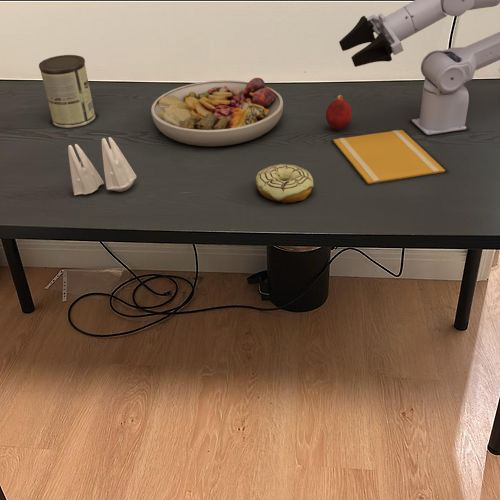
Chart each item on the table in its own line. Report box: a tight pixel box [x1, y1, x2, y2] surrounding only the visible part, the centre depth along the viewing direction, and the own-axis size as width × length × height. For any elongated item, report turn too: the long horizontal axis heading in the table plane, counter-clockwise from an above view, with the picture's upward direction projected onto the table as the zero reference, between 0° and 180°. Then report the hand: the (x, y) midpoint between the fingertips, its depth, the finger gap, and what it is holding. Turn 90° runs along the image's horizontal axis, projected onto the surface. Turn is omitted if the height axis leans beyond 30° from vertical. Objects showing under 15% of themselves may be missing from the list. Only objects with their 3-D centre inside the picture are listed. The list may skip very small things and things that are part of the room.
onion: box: [325, 94, 353, 131], centre depth 139 cm, size 6×6×8 cm
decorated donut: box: [255, 163, 315, 204], centre depth 119 cm, size 10×11×4 cm
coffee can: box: [38, 54, 96, 129], centre depth 149 cm, size 10×10×14 cm
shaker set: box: [67, 136, 137, 196], centre depth 120 cm, size 12×4×11 cm, turn 88°
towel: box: [332, 129, 446, 185], centre depth 130 cm, size 16×20×1 cm
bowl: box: [150, 77, 284, 147], centre depth 145 cm, size 30×30×8 cm
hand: (346, 54), depth 128 cm, fingers open, 7 cm apart
